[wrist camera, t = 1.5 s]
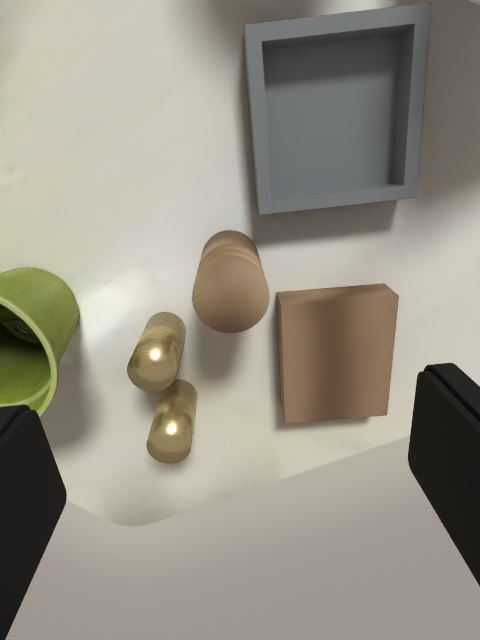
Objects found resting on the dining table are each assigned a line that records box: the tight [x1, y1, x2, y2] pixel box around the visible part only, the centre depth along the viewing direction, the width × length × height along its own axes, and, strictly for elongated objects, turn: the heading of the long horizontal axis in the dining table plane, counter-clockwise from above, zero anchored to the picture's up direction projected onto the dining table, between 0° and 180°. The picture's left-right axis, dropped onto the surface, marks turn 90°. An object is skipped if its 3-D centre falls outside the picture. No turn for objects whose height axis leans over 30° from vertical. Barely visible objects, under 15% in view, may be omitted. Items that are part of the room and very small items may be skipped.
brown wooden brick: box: [277, 284, 399, 423], centre depth 29 cm, size 8×10×3 cm
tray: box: [243, 3, 432, 215], centre depth 23 cm, size 10×10×2 cm
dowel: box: [192, 230, 269, 333], centre depth 24 cm, size 4×4×8 cm
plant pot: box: [0, 268, 79, 417], centre depth 24 cm, size 9×9×9 cm
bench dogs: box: [127, 312, 197, 463], centre depth 28 cm, size 3×9×6 cm, turn 6°
